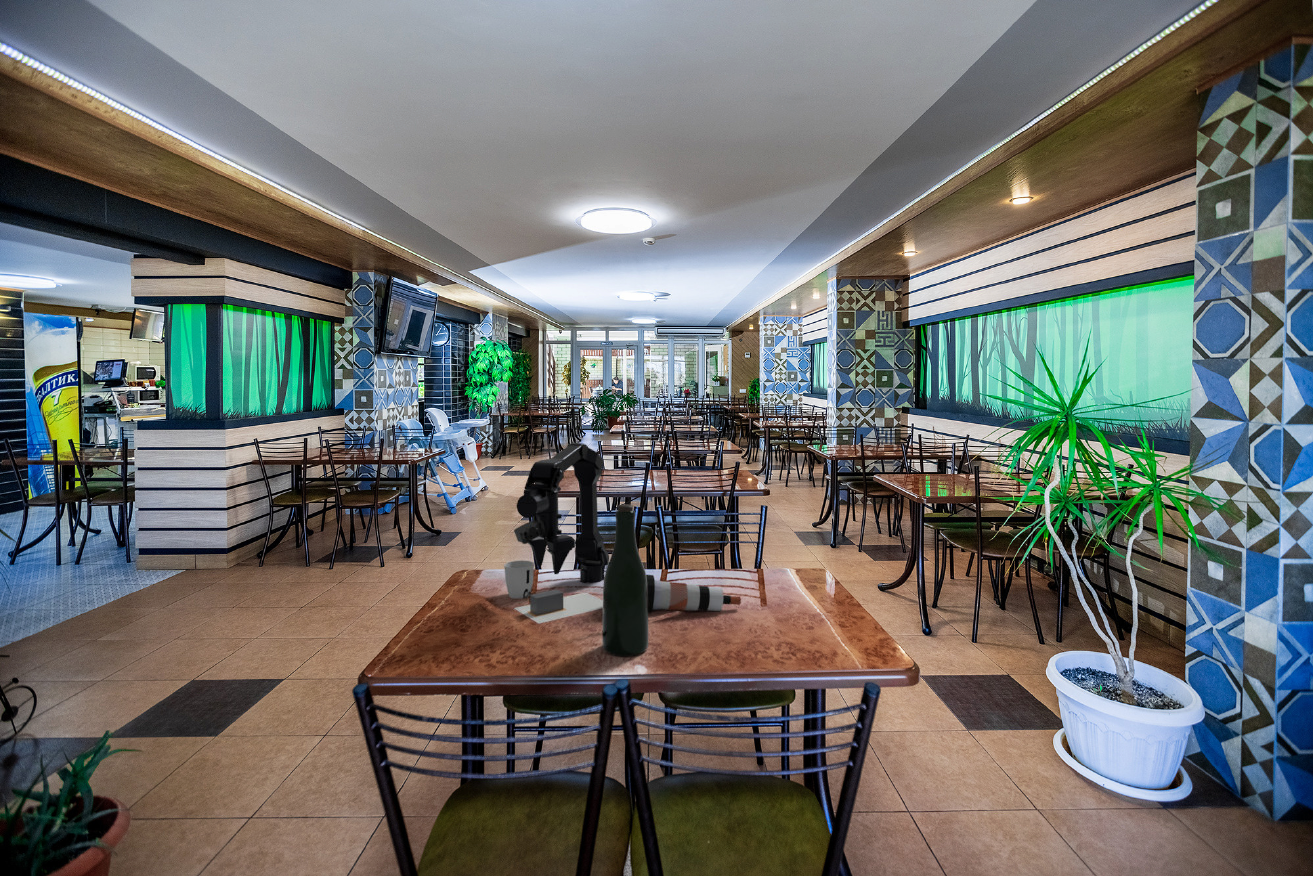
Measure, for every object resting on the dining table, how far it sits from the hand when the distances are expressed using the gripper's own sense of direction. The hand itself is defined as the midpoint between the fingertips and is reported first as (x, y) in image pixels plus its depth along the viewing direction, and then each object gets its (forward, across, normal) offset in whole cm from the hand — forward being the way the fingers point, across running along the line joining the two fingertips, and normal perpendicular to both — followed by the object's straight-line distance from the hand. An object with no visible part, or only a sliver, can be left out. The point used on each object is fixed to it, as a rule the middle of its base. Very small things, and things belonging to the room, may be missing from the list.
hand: (547, 570), depth 170 cm
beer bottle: (+12, +30, +3) cm, 33 cm away
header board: (+12, 0, +4) cm, 13 cm away
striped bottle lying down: (+12, +18, +28) cm, 36 cm away
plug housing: (+11, 0, -1) cm, 11 cm away
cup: (+12, -16, -1) cm, 20 cm away
